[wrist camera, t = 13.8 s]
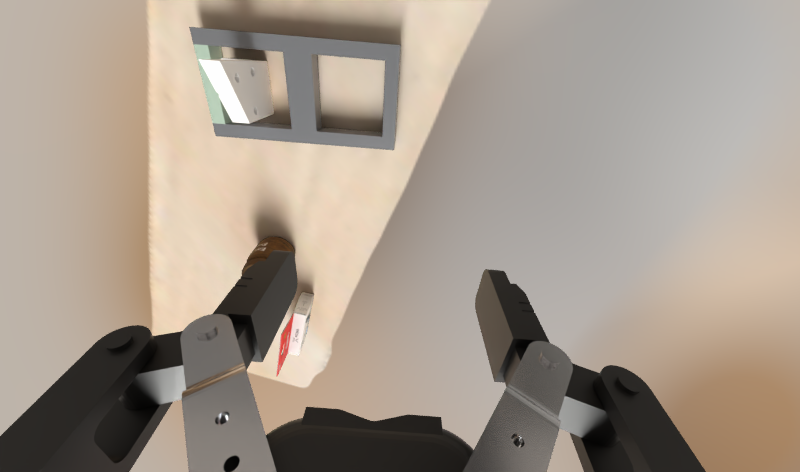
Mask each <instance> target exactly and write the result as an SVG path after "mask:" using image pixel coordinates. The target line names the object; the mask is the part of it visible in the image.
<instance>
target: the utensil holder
mask: <svg viewBox="0 0 800 472" xmlns="http://www.w3.org/2000/svg"><path fill="white" fill-rule="evenodd" d="M273 250H280V251H291V252H293V253H294V256H295V251H294V249H293V247H292V245H291V244H290V243H289V242H288V241H286V240H284V239H282V238H279V237H268V238H266V239H264V240H262V241H261V242H260V243H259V244H258V245H257V247H256V248H255V249H254V250H253V252H252V253H251V254H250V256H249V257H248V259H247V263H246V264H245V266H244V268H243V270H242V275H243V274H244V273H245V271H246V270H247V269H248V268H249V267H251V266H252V265H254V264H255V263H257V262H258V261H266V259H267V258H268V256H269V255H270V254H271V252H272V251H273Z"/></svg>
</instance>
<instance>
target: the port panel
mask: <svg viewBox="0 0 800 472" xmlns="http://www.w3.org/2000/svg"><path fill="white" fill-rule="evenodd" d="M189 28H190V32H191V36H192V40H193V44H194V48H195V52H196V56H197V60H198V65H199V69H200V73H201V77H202V81H203V85H204V89H205V93H206V97H207V102H208V106H209V110H210V114H211V118H212V122H213V126H214V130H215V134H216V136H222V137H235V138H248V139H260V140H273V141H285V142H298V143H310V144H323V145H335V146H348V147H361V148H373V149H386V150H394V146H395V132H396V116H397V100H398V84H399V68H400V52H401V45H393V44H382V43H370V42H359V41H347V40H335V39H324V38H312V37H300V36H289V35H277V34H266V33H254V32H242V31H231V30H219V29H208V28H196V27H189ZM221 47H233V48H245V49H257V50H268V51H280V52H283V56H284V65H285V73H286V82H287V91H288V100H289V109H290V118H291V125H285V124H273V123H260V122H253V123H250V124H249V123H236V122H232V120H231V118H230V116H229V115H228V113H227V111H226V109H225V107H224V105H223V104H222V102H221V100H220V98H219V96H218V95H219V94H218V92H216V91H215V89H214V87H213V85H212V83H211V81H210V80H209V78H208V76H207V74H206V72H205V70H204V69H203V67H202V65H201V63H200V61H199V59H221V58H223V56H222V51H221ZM317 55H327V56H339V57H351V58H362V59H374V60H386V61H385V85H384V110H383V132H372V131H359V130H347V129H335V128H322V123H321V106H320V90H319V74H318V58H317Z"/></svg>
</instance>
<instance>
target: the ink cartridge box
mask: <svg viewBox="0 0 800 472" xmlns="http://www.w3.org/2000/svg"><path fill="white" fill-rule="evenodd" d="M313 298H314V294H310V293H305V292H302V293H301V295H300V297H299V300H298V302H297V304H296V307H295V309H294V312H293V314H292V316H291V318H290V320H289V322H288V323H287V325H286V327H285V328H284V330H283V332H282V334H281V340H280V348H279V357H278V367H277V375H276V376H278V374H279V371H280V369H281V367H282V365H283V362H284V360H285V358H286V355H287V354H293V355H297V356H299V354H300V351H301V348H302V345H303V343H304V340H305V337H306V334H307V329H308V324H309V319H310V314H311V309H312V303H313ZM283 345H284V349H283ZM282 349H283V353H282V355H281V352H282Z"/></svg>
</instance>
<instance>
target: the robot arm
mask: <svg viewBox="0 0 800 472" xmlns="http://www.w3.org/2000/svg"><path fill="white" fill-rule="evenodd" d="M296 290H297V273H296V264H295V256H294V253H293V252H291V251H280V250H273V251H272V252H271V254H270V255H269V256H268V258H267V259H266V261H258V262H257V263H255V264H254V265H252V266H251V267H249V268H248V269H247V270H246V271H245V273H244V274H243V275H242V276H241V279H239V280H238V282H237V283H236V284H235V287H233V288H232V289H231V291H230V292H229V293H228V295H227V296H226V297H225V299H224V300H223V301H222V302H221V304H220V305H219V306H218V308H217V309H216V310H215V312H214V313H213V314H211V315H207V316H203V317H201V318H199V319H196V320H195V321H193V322H192V323H190V324H189V325H188V326H187V327H186V328H185V329H184V330H183V331H181V332H176V333H170V334H164V335H158V336H152V334H151V332H150V330H149V329H148V328H146V327H144V326H139V325H137V326H128V327H124V328H121V329H118V330H116V331H113V332H111V333H109V334H107V335H106V336H104V337H102V338H101V339H100V340H98V341H97V342H96V343H95V344H94V345H93V346H92V347H91V348H90V349H89V350H88V351H87V352H86V353H85V354H84V355H83V356H82V357H81V358H80V359H79V360H78V361H77V362H76V363H75V364H74V365H73V366H72V367H71V368H70V369H69V370H68V371H66V372H65V373H64V374H63V375H62V376H61V377H60V378H59V379H58V380H57V381H56V382H55V383H54V384H53V385H52V386H51V387H50V388H49V389H48V390H47V391H46V392H45V393H44V394H43V395H42V396H41V397H40V398H39V399H38V400H37V401H36V402H35V403H34V404H33V405H32V406H31V407H30V408H29V409H28V410H27V411H26V412H25V413H23V414H22V416H21V417H20V418H18V419H17V420H16V421H15V422H14V423H13V424H12V425H11V426H10V427H9V428H8V429H7V430H6V431H5V432H4V433H3V434H2V435H1V436H0V472H129V471H130V470H131V468H132V467H133V465H134V463H135V462H136V460H137V458H138V457H139V455H140V454H141V452H142V450H143V449H144V447H145V446H146V444H147V442H148V441H149V439H150V438H151V436H152V434H153V433H154V431H155V430H156V428H157V426H158V425H159V423H160V422H161V420H162V418H163V417H164V415H165V414H166V412H167V410H168V409H169V407H170V405H171V404H172V402H173V401H177V400H182V408H183V417H184V428H185V437H186V447H187V458H188V466H189V467H188V468H189V472H547V468H548V465H549V462H550V459H551V455H552V452H553V449H554V445H555V442H556V439H557V435H558V431H559V428H560V429H562V430H565V431H567V432H569V433H570V435H571V437H572V440H573V443H574V446H575V448H576V451H577V453H578V456H579V459H580V462H581V464H582V467H583V470H584V472H706V471H705V470H704V468H703V467H702V466H701V464H700V462H699V461H698V459H697V458H696V456H695V455H694V453H693V452H692V450H691V449H690V447H689V446H688V444H687V443H686V442H685V440H684V439H683V437H682V436H681V434H680V432H679V431H678V430H677V428H676V427H675V425H674V424H673V422H672V421H671V419H670V418H669V416H668V415H667V413H666V412H665V410H664V409H663V407H662V406H661V404H660V403H659V401H658V400H657V398H656V397H655V395H654V394H653V392H652V391H651V389H650V388H649V387H648V385H647V384H646V383H645V382H644V381H643V380H642V379H641V378H639V377H638V376H637V375H635V374H634V373H632V372H630V371H628V370H627V369H624V368H622V367H618V366H613V365H610V366H606V367H604V368H603V369H602V371H601V372H600V373H597V372H594V371H591V370H589V369H586V368H583V367H580V366H577V365H575V364H573V363H572V362H571V360H570V359H569V357H568V356H567V355H566V354H565V352H563V351H562V350H561V349H560V348H558V347H557V346H555V345H553V344H551V343H550V342H549V340H548V338H547V336H546V334H545V332H544V330H543V328H542V326H541V325H540V322H539V320H538V318H537V316H536V314H535V313H534V310H533V308H532V306H531V305H530V302H529V300H528V298H527V296H526V294H525V293H524V292H523V291H522V290H521V289H520V288H519V287H518V286H517V285H516V284H510V282H509V280H508V278H507V275H506V273H505V272H504V271H498V270H487V269H486V270H485V271H484V272H483V275H482V279H481V282H480V285H479V289H478V292H477V295H476V302H475V308H476V313H477V317H478V321H479V325H480V329H481V332H482V336H483V340H484V343H485V347H486V351H487V355H488V358H489V363H490V366H491V370H492V374H493V378H494V381H495V382H505V383H506V389H505V391H504V393H503V395H502V397H501V399H500V401H499V403H498V405H497V407H496V409H495V410H494V413H493V414H492V416H491V418H490V420H489V422H488V424H487V426H486V428H485V430H484V432H483V434H482V436H481V438H480V440H479V441H478V443H477V445H476V447H475V449H474V450H473V449H472V448H471V447H470V446H469V445H468V444H467V443H466V442H465V441H463V440H462V439H461V438H459V437H458V436H456V435H455V434H453V433H451V432H449V431H447V430H445V429H442V422H441V417H432V416H418V415H404V416H399V417H395V418H389V419H385V420H380V421H370V420H367V419H364V418H361V417H359V416H356V415H353V414H351V413H348V412H345V411H343V410H339V409H327V408H314V407H306V410H305V413H304V416H303V418H301V419H297V420H294V421H291V422H288V423H286V424H284V425H281V426H280V427H278V428H277V429H274V430H273V431H271V432H270V433H269V434H267V435H266V434H265V431H264V428H263V424H262V421H261V418H260V414H259V411H258V408H257V405H256V401H255V398H254V394H253V391H252V388H251V384H250V381H249V378H248V374H247V371H246V370H247V368H248V366H249V365H250V363H251V361H255V362H263V360H264V358H265V356H266V354H267V352H268V350H269V348H270V345H271V343H272V341H273V339H274V337H275V335H276V333H277V331H278V329H279V327H280V325H281V323H282V321H283V319H284V317H285V315H286V312H287V310H288V308H289V306H290V304H291V302H292V300H293V298H294V296H295V293H296Z"/></svg>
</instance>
